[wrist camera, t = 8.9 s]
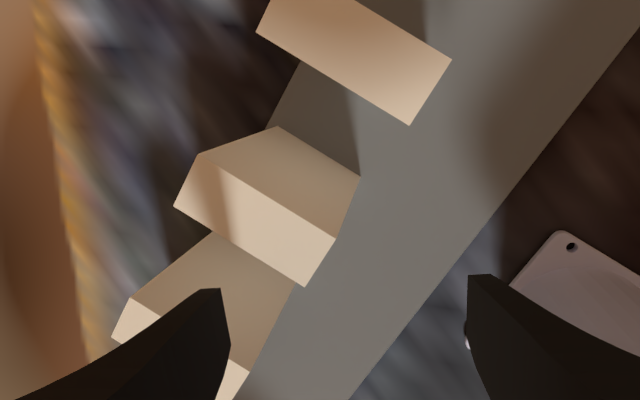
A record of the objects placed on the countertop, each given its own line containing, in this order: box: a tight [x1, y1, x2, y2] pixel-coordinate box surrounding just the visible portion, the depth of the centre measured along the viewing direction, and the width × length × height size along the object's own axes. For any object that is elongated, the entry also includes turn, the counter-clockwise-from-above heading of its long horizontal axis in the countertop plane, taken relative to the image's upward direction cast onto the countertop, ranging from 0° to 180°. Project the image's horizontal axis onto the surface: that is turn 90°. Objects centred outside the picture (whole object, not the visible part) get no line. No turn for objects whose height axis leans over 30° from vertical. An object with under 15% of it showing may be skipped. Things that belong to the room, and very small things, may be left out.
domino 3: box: [111, 231, 296, 400], centre depth 19 cm, size 2×5×9 cm, turn 60°
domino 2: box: [173, 126, 361, 287], centre depth 17 cm, size 2×5×9 cm, turn 60°
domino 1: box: [256, 0, 452, 126], centre depth 16 cm, size 2×5×9 cm, turn 60°
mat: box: [211, 0, 640, 400], centre depth 22 cm, size 12×33×1 cm, turn 150°
